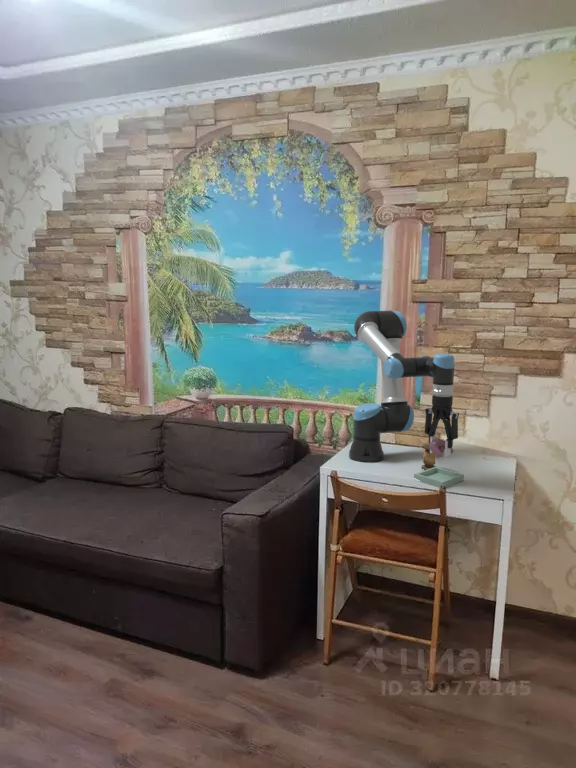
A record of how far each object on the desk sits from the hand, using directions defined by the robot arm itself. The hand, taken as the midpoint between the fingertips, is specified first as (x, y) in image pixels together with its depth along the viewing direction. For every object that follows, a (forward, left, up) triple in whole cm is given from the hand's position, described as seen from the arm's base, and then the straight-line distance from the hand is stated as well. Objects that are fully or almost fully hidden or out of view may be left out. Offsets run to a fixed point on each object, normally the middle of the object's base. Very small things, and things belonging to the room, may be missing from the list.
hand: (440, 454), depth 221 cm
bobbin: (-11, +9, -10) cm, 18 cm away
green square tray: (0, 0, -10) cm, 10 cm away
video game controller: (0, +1, 0) cm, 1 cm away
